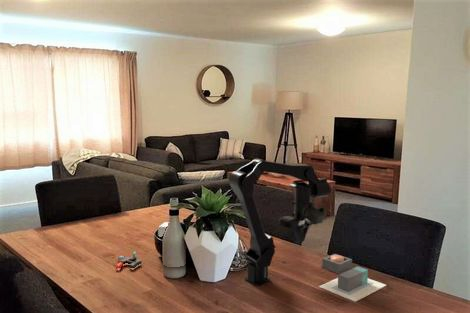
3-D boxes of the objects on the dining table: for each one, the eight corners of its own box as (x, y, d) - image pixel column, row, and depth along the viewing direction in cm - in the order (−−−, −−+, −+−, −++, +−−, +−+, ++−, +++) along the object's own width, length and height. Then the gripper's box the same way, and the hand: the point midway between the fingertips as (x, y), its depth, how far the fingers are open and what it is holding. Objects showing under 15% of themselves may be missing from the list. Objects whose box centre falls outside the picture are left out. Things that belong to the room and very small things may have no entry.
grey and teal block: (348, 291, 139) (348, 278, 139) (337, 287, 142) (338, 274, 142) (367, 282, 146) (367, 269, 146) (357, 278, 149) (357, 266, 149)
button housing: (339, 274, 154) (339, 264, 154) (321, 267, 160) (321, 258, 160) (352, 268, 159) (352, 259, 159) (334, 262, 165) (334, 253, 165)
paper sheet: (355, 301, 133) (355, 300, 133) (318, 286, 144) (318, 285, 144) (386, 285, 145) (386, 284, 145) (350, 273, 155) (350, 271, 155)
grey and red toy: (121, 260, 168) (120, 248, 168) (145, 265, 163) (145, 253, 162) (102, 268, 160) (102, 256, 159) (127, 274, 154) (127, 261, 154)
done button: (338, 268, 156) (338, 260, 156) (327, 264, 160) (328, 257, 160) (346, 265, 159) (346, 257, 159) (335, 261, 163) (335, 254, 163)
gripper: (302, 207, 142) (301, 253, 144) (337, 199, 154) (336, 241, 156) (278, 201, 150) (277, 244, 152) (312, 194, 162) (311, 234, 164)
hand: (301, 241), depth 156 cm, fingers closed
